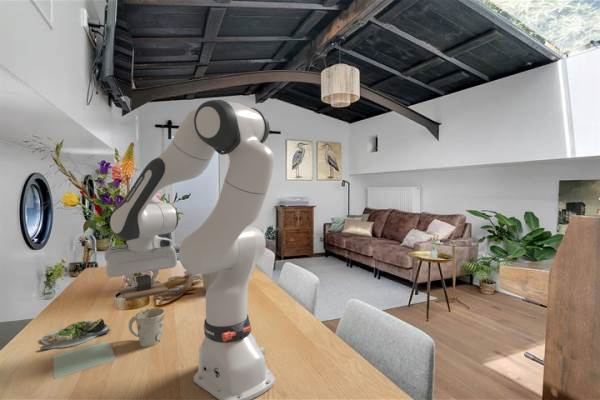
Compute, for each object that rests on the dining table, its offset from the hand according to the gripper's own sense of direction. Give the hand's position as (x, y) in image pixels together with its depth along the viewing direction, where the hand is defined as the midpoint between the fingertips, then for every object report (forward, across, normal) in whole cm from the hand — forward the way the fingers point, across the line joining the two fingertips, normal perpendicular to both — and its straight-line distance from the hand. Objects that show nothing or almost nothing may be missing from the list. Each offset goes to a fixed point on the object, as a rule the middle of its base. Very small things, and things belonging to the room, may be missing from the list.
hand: (143, 285), depth 98 cm
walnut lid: (+2, 0, 0) cm, 2 cm away
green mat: (+19, -16, +1) cm, 25 cm away
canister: (+19, +41, +34) cm, 57 cm away
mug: (+19, 0, 0) cm, 19 cm away
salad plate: (+19, -16, +20) cm, 32 cm away
